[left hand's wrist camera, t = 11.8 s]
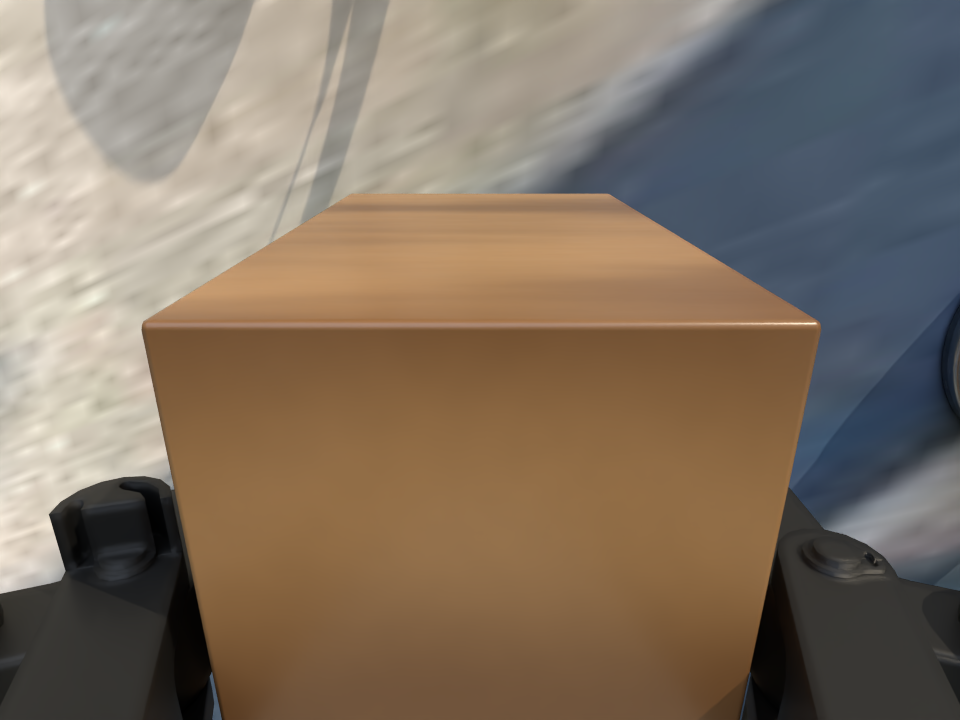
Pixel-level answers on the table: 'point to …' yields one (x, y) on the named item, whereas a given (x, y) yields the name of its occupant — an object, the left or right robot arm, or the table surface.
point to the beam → (481, 462)
